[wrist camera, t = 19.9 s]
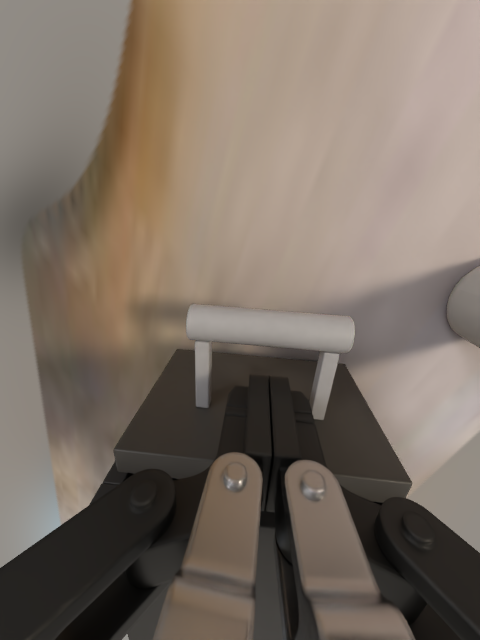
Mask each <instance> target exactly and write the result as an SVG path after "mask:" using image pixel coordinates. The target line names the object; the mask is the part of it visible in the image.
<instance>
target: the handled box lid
mask: <svg viewBox="0 0 480 640" xmlns="http://www.w3.org/2000/svg"><path fill="white" fill-rule="evenodd" d="M186 333H187V337H188V339H190V340H196V341H195V351H193V350H182V349H177V350H176V352H175V353H174V355H173V356H172V358H171V360H170V361H169V363H168V364H167V366H166V367H165V369H164V371H163V372H162V374H161V375H160V377H159V378H158V380H157V382H156V383H155V385H154V386H153V388H152V390H151V391H150V393H149V394H148V396H147V397H146V399H145V401H144V402H143V404H142V405H141V407H140V408H139V410H138V412H137V413H136V415H135V416H134V418H133V419H132V421H131V423H130V424H129V426H128V427H127V429H126V430H125V432H124V434H123V435H122V437H121V438H120V440H119V442H118V443H117V445H116V446H115V448H114V451H113V452H114V456H115V461H116V466H117V471H118V472H124V473H133V474H135V473H137V472H139V471H142V470H145V469H160V470H163V471H165V472H166V473H168V474H169V475H170V476H171V478H172V479H173V480H178V479H182V478H187V477H191V476H194V475H197V474H199V473H201V472H203V471H204V470H206V469H207V468H208V467H209V466H210V465H211V464H212V463H213V461H214V460H215V458H216V456H217V452H218V447H219V442H220V436H221V431H222V426H223V420H224V416H225V409H226V404H227V399H228V394H229V392H230V391H231V390H232V389H233V388H234V386H235V385H236V386H247V387H249V377H250V374H260V375H268V379H269V375H272V376H283V377H288V379H289V385H290V390H292V391H301V392H302V393H303V394H304V395H305V397H306V398H307V399H308V400H309V402H310V406H311V410H312V415H313V417H314V421H315V425H316V428H317V432H318V436H319V440H320V444H321V447H322V451H323V455H324V459H325V462H326V465H327V468H328V469H329V470H330V471H331V472H332V473H333V475H334V476H335V477H336V479H337V480H338V482H339V484H340V485H341V486H343V487H344V488H345V489H347V490H348V491H350V492H352V493H354V494H356V495H358V496H360V497H363V498H365V499H367V500H370V501H372V502H381V503H383V502H384V501H385V500H387V499H389V498H391V497H402V498H406V496H407V494H408V492H409V490H410V488H411V486H412V482H411V480H410V478H409V476H408V475H407V473H406V471H405V469H404V468H403V466H402V464H401V462H400V461H399V459H398V457H397V455H396V454H395V452H394V450H393V448H392V447H391V445H390V443H389V441H388V440H387V438H386V436H385V434H384V432H383V431H382V429H381V427H380V425H379V424H378V422H377V420H376V418H375V417H374V415H373V413H372V411H371V410H370V408H369V406H368V404H367V403H366V401H365V399H364V397H363V396H362V394H361V392H360V390H359V389H358V387H357V385H356V383H355V381H354V380H353V378H352V376H351V374H350V373H349V371H348V369H347V367H346V366H345V364H338V360H339V356H340V354H339V353H348V352H349V351H350V350H351V348H352V346H353V343H354V337H355V327H354V322H353V320H352V318H351V317H349V316H340V315H328V314H315V313H303V312H290V311H278V310H265V309H253V308H240V307H228V306H215V305H202V304H191V305H190V307H189V310H188V314H187V320H186ZM212 342H223V343H234V344H245V345H257V346H268V347H280V348H291V349H303V350H314V351H320V353H319V358H318V362H316V361H305V360H293V359H282V358H271V357H260V356H249V355H238V354H226V353H215V352H212ZM265 503H266V500H265Z"/></svg>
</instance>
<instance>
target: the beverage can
mask: <svg viewBox="0 0 480 640" xmlns="http://www.w3.org/2000/svg"><path fill="white" fill-rule="evenodd" d="M447 320H448V322H449V324H450V327H451V328H452V329H453V330H454V331H455V332H456V333H457V334H458V335H459V336H461V337H463V338H464V339H466V340H468V341H469V342H471V343H473V344H474V345H476V346H478V347H479V348H480V266H478V267H477V268H475V269H473V270H472V271H470V272H469V273H468V274H467V275H465V276H464V277H463V278H462V279H461V280H460V281H459V282H458V283H457V284H456V286H455V287H454V289H453V291H452V292H451V294H450V296H449V300H448V304H447Z"/></svg>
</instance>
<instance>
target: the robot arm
mask: <svg viewBox="0 0 480 640" xmlns="http://www.w3.org/2000/svg"><path fill="white" fill-rule="evenodd" d="M265 500H266V511H268V512H275V534H274V541H273V544H274V556H275V566H276V576H277V586H278V596H279V606H280V616H281V626H282V636H283V640H480V553H479V552H478V551H476V550H475V549H474V548H473V547H472V546H470V545H469V544H468V543H467V542H466V541H464V540H463V539H462V538H461V537H460V536H458V535H457V534H456V533H454V532H453V531H452V530H451V529H450V528H449V527H447V526H446V525H445V524H444V523H443V522H441V521H440V520H439V519H438V518H436V517H435V516H434V515H433V514H432V513H430V512H429V511H428V510H427V509H425V508H424V507H422V506H421V505H419V504H417V503H415V502H414V501H411V500H409V499H406V498H402V497H391V498H389V499H387V500H385V501H384V502H383V504H382V506H381V505H379V504H377V503H374V502H372V501H370V500H367V499H365V498H363V497H360V496H358V495H356V494H354V493H352V492H350V491H348V490H347V489H345V488H344V487H343V486H341V485H340V484H339V482H338V480H337V479H336V477H335V476H334V475H333V473H332V472H331V471H330V470H329V469H328V468H327V465H326V462H325V459H324V455H323V451H322V447H321V444H320V440H319V436H318V432H317V428H316V425H315V421H314V417H313V415H312V410H311V406H310V402H309V400H308V399H307V398H306V397H305V395H304V394H303V393H302V392H301V391H292V390H290V385H289V379H288V377H283V376H272V375H269V379H268V375H260V374H250V377H249V387H247V386H236V385H235V386H234V388H233V389H232V390H231V391H230V392H229V394H228V399H227V404H226V409H225V416H224V420H223V426H222V431H221V436H220V442H219V447H218V452H217V456H216V458H215V460H214V461H213V463H212V464H211V465H210V466H209V467H208V468H207V469H206V470H204V471H203V472H201V473H199V474H197V475H194V476H191V477H187V478H182V479H178V480H173V479H172V478H171V476H170V475H169V474H168V473H166V472H165V471H163V470H160V469H145V470H142V471H139V472H137V473H135V474H133V475H132V476H130V477H129V478H127V479H126V480H125V481H123V482H122V483H120V484H119V485H117V486H116V487H115V488H113V489H112V490H110V491H109V492H108V493H106V494H105V495H103V496H102V497H100V498H99V499H98V500H96V501H95V502H93V503H92V504H91V505H89V506H88V507H86V508H85V509H83V510H82V511H81V512H79V513H78V514H76V515H75V516H74V517H72V518H71V519H69V520H68V521H66V522H65V523H64V524H62V525H61V526H59V527H58V528H57V529H55V530H54V531H52V532H51V533H49V534H48V535H47V536H45V537H44V538H43V539H41V540H40V541H38V542H37V543H35V544H34V545H32V546H31V547H30V548H28V549H27V550H25V551H24V552H23V553H21V554H20V555H18V556H17V557H15V558H14V559H13V560H11V561H10V562H8V563H7V564H6V565H4V566H3V567H1V568H0V640H122V639H123V637H124V636H125V635H126V634H127V633H128V632H129V631H130V630H131V628H132V627H133V626H134V625H135V624H136V623H137V622H138V620H139V619H140V618H141V617H142V616H143V615H144V614H145V612H146V611H147V610H148V609H149V608H150V607H151V606H152V604H153V603H154V602H155V601H156V600H157V599H158V597H159V596H160V595H161V594H162V593H163V592H164V591H165V589H166V588H167V587H168V586H169V585H170V586H169V589H168V592H167V595H166V597H165V601H164V604H163V607H162V610H161V614H160V617H159V620H158V623H157V627H156V630H155V633H154V636H153V640H253V634H254V619H255V599H256V591H255V585H256V568H257V554H258V539H259V525H260V518H261V511H264V507H265ZM170 583H171V584H170Z"/></svg>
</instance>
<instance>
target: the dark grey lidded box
mask: <svg viewBox="0 0 480 640" xmlns="http://www.w3.org/2000/svg"><path fill="white" fill-rule="evenodd" d="M132 475H133V473H124V472H118V471H117V466H116V461H115V463H114V464H113V466H112V468H111V469H110V471H109V473H108V474H107V476H106V478H105V479H104V481H103V483H102V484H101V486H100V488H99V489H98V491H97V493H96V494H95V496H94V498H93V499H92V501H91V503H90V505H91V504H92V503H93V502H95V501H96V500H98V499H99V498H100V497H102V496H103V495H105V494H106V493H108V492H109V491H110V490H112V489H113V488H115V487H116V486H117V485H119V484H120V483H122V482H123V481H125V480H126V479H127V478H129V477H130V476H132ZM374 503H377V504H379V505H381V506H382V504H383V503H381V502H374ZM274 534H275V512H268V511H266V503H265V507H264V511H261V518H260V525H259V539H258V554H257V568H256V585H255V591H256V599H255V619H254V634H253V640H283V636H282V626H281V616H280V606H279V596H278V586H277V576H276V566H275V556H274V544H273V541H274ZM170 584H171V583H170ZM169 586H170V585H169ZM169 586H168V587H167V588H166V589H165V591H164V592H163V593H162V594H161V595H160V596H159V597H158V599H157V600H156V601H155V602H154V603H153V604H152V606H151V607H150V608H149V609H148V610H147V611H146V612H145V614H144V615H143V616H142V617H141V618H140V619H139V620H138V622H137V623H136V624H135V625H134V626H133V627H132V628H131V630H130V631H129V632H128V633H127V634H128V637H129V640H153V636H154V633H155V630H156V627H157V623H158V620H159V617H160V614H161V610H162V607H163V604H164V601H165V597H166V595H167V592H168V589H169Z"/></svg>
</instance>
